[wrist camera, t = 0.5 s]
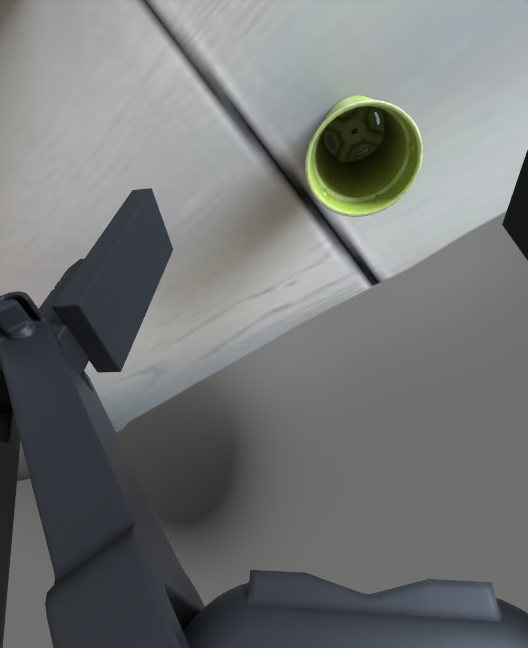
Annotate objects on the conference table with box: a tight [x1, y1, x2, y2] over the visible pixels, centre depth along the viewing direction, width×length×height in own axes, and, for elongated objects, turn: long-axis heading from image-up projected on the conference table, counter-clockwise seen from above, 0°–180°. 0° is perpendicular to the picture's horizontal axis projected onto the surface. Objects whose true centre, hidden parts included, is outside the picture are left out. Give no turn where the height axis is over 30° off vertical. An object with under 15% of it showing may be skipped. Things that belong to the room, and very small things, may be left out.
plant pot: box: [305, 96, 423, 217], centre depth 34 cm, size 9×9×9 cm
